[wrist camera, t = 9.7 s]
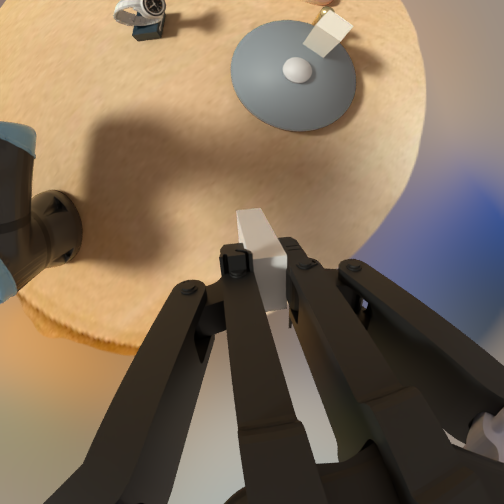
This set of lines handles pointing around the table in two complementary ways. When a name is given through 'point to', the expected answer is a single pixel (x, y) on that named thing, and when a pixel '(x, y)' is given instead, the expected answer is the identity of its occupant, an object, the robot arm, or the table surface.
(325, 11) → the gold domed cylinder
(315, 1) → the wood carving
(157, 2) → the watch
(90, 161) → the table surface
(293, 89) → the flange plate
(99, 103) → the table surface
